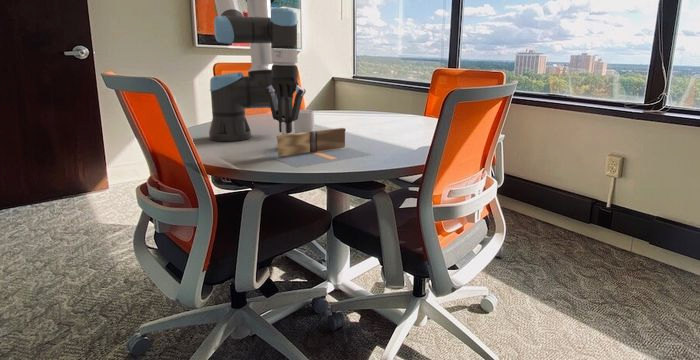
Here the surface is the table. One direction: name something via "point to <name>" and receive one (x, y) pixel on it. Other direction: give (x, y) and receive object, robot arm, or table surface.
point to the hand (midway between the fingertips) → (285, 143)
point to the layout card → (318, 156)
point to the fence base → (327, 139)
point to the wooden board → (293, 144)
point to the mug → (304, 121)
